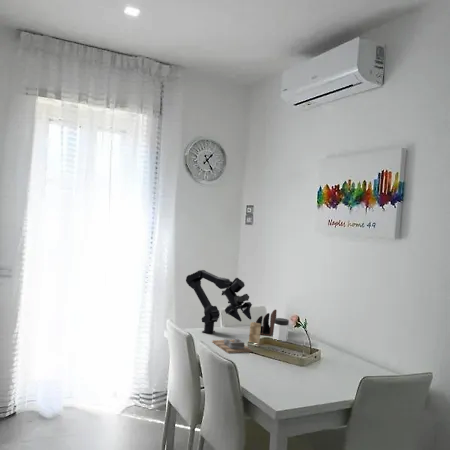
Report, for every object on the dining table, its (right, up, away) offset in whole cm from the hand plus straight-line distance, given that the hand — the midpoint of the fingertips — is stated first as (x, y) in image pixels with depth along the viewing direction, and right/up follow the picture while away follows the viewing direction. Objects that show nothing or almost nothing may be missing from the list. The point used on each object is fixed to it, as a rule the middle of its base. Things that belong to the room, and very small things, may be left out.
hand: (245, 320), depth 272 cm
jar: (+21, -14, +14) cm, 29 cm away
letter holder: (+13, -14, +31) cm, 36 cm away
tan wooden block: (+4, -13, -4) cm, 15 cm away
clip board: (-8, -12, -11) cm, 19 cm away
